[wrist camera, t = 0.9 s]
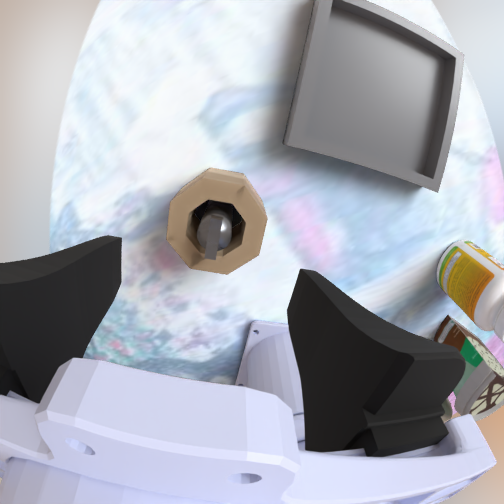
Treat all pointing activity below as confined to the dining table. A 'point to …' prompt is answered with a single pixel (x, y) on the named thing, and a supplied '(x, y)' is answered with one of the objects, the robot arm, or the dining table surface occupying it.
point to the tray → (376, 92)
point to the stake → (215, 228)
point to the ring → (243, 234)
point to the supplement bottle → (474, 284)
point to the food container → (474, 372)
